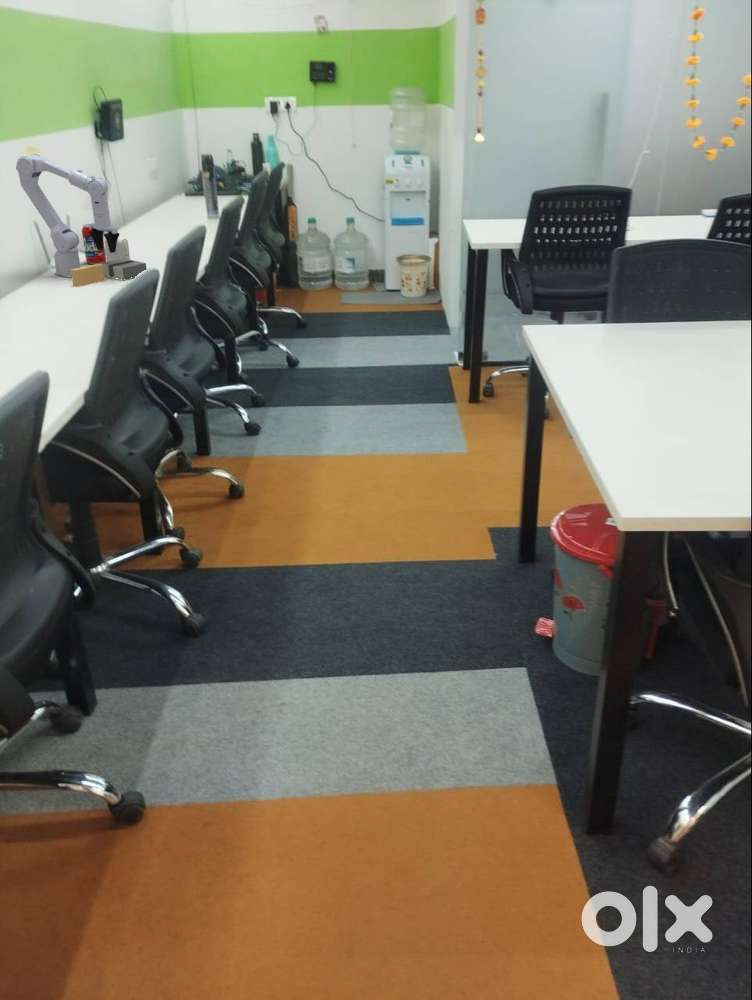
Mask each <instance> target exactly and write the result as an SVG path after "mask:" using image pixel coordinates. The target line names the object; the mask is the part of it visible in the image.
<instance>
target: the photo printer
mask: <svg viewBox="0 0 752 1000" xmlns="http://www.w3.org/2000/svg"><path fill="white" fill-rule="evenodd" d="M104 246H105V253H106V262H108V261H113V260H118V259H123V258H125V259H129V260H131V256H130V249H129V248H130V247H129V241H128V239H127V238H125V237H123V236H122V235H119V237H118V240H117V244H116V252H113V253H110V251H109V247H108V243H107V240H106V238H105V237H104Z"/></svg>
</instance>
